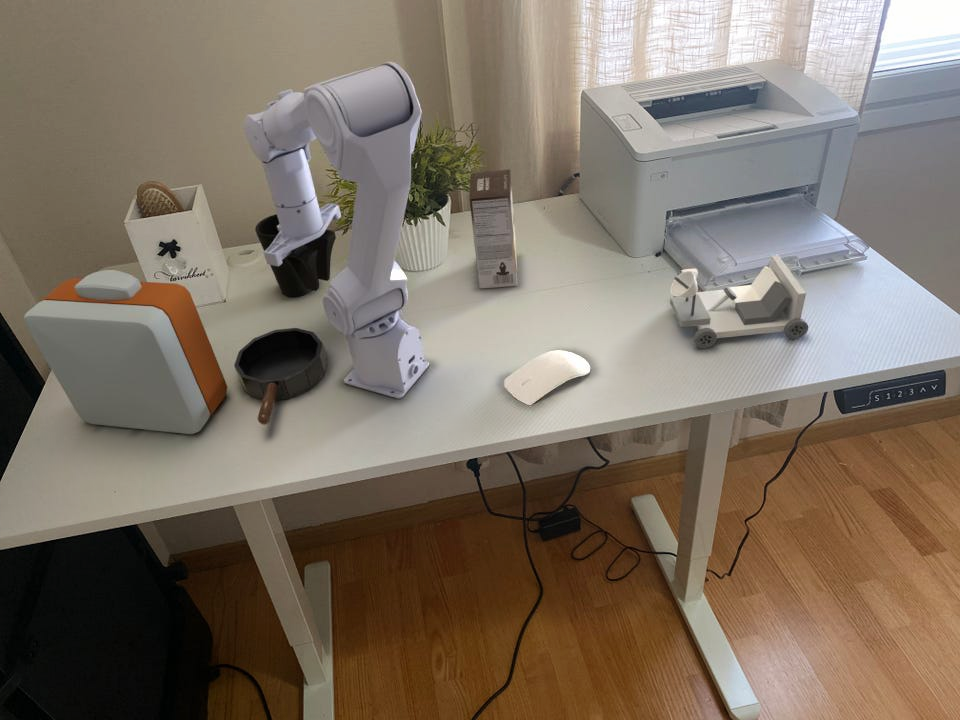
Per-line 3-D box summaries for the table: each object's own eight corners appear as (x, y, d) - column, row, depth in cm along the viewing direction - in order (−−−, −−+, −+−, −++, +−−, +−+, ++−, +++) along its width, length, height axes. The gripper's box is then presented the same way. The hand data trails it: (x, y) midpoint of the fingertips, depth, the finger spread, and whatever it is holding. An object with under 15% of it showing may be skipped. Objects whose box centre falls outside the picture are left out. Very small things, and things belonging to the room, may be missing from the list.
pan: (251, 351, 110) (244, 332, 108) (331, 343, 110) (325, 324, 108) (222, 443, 95) (214, 423, 92) (315, 433, 95) (308, 413, 92)
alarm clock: (233, 393, 102) (182, 267, 90) (201, 437, 96) (142, 308, 83) (119, 383, 107) (55, 261, 94) (81, 425, 100) (7, 300, 87)
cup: (311, 301, 119) (292, 236, 112) (267, 300, 121) (246, 235, 113) (327, 276, 125) (311, 212, 118) (286, 275, 127) (267, 212, 119)
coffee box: (479, 260, 125) (469, 171, 115) (516, 257, 124) (510, 167, 114) (478, 289, 117) (468, 197, 107) (518, 287, 117) (512, 194, 107)
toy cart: (680, 291, 95) (658, 247, 104) (674, 351, 101) (654, 304, 110) (820, 277, 94) (786, 233, 103) (806, 338, 100) (775, 292, 110)
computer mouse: (497, 381, 99) (496, 368, 98) (569, 348, 104) (568, 335, 102) (526, 408, 94) (525, 395, 93) (599, 372, 99) (599, 359, 97)
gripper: (304, 172, 105) (325, 254, 114) (235, 218, 96) (264, 305, 104) (344, 178, 102) (362, 262, 111) (278, 226, 93) (303, 314, 101)
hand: (317, 283), depth 107 cm, fingers closed
